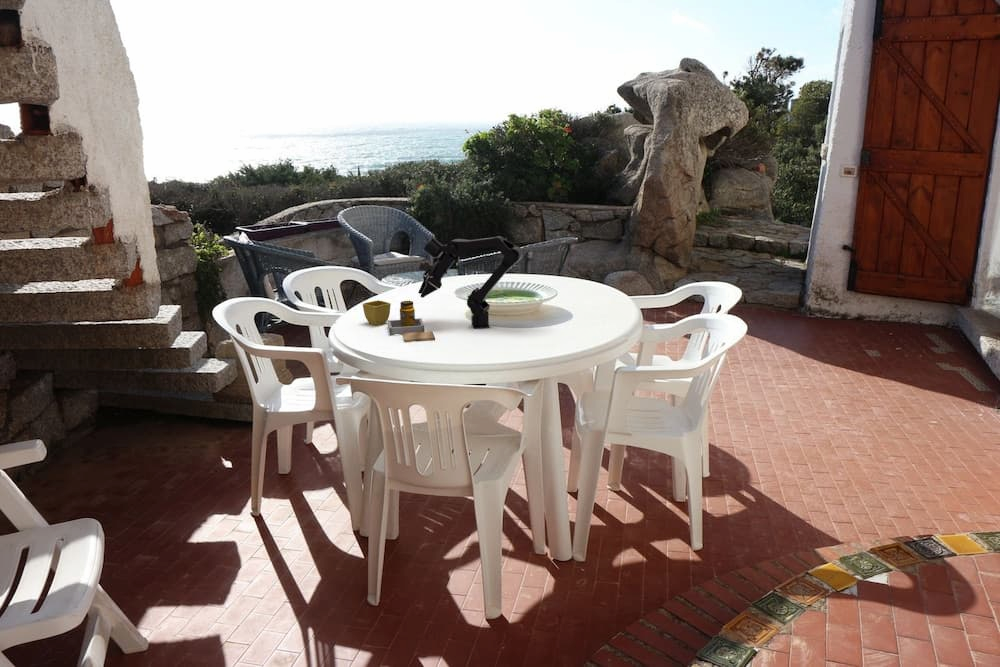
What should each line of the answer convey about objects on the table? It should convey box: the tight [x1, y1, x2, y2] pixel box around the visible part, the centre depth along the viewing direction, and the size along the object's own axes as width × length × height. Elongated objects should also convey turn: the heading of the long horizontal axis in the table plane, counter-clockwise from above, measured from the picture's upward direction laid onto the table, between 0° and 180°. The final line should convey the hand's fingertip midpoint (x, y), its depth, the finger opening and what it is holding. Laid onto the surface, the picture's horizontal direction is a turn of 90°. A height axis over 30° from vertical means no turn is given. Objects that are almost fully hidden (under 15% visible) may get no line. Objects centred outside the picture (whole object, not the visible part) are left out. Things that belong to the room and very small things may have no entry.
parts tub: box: [387, 317, 426, 336], centre depth 302 cm, size 14×13×3 cm
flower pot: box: [362, 299, 392, 326], centre depth 313 cm, size 9×9×9 cm
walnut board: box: [402, 330, 436, 343], centre depth 291 cm, size 12×10×1 cm
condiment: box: [399, 300, 416, 327], centre depth 301 cm, size 7×8×12 cm
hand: (420, 295), depth 304 cm, fingers open, 9 cm apart
